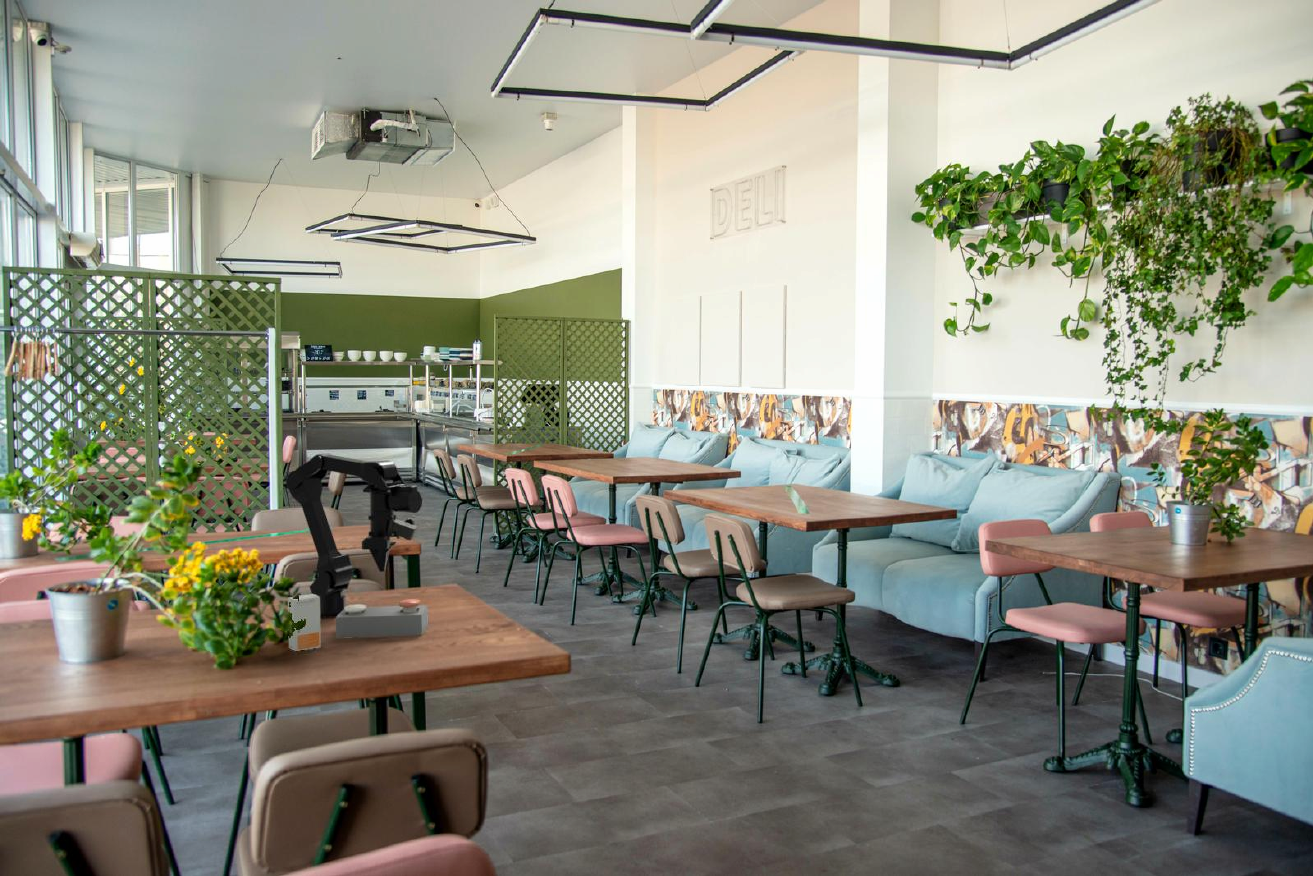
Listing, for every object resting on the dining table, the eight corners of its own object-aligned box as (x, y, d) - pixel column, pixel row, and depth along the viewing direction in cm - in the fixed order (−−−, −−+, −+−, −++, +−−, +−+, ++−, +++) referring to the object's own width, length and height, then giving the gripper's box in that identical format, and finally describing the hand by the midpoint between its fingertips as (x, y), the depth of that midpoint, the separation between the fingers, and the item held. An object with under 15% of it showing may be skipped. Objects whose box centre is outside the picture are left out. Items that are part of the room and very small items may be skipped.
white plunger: (342, 630, 229) (342, 609, 229) (347, 624, 234) (346, 604, 234) (364, 629, 229) (363, 608, 229) (368, 624, 234) (367, 604, 234)
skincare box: (295, 653, 214) (293, 600, 214) (288, 649, 218) (286, 597, 217) (322, 647, 218) (320, 596, 218) (314, 644, 222) (313, 593, 221)
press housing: (336, 638, 226) (335, 617, 226) (345, 627, 236) (345, 607, 236) (421, 635, 228) (421, 614, 228) (427, 624, 238) (427, 605, 238)
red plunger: (397, 624, 230) (397, 604, 230) (401, 619, 235) (400, 599, 235) (419, 624, 231) (418, 603, 230) (422, 619, 236) (421, 599, 235)
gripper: (407, 516, 233) (407, 579, 234) (420, 505, 251) (420, 564, 253) (361, 516, 232) (361, 579, 233) (377, 505, 251) (377, 564, 252)
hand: (382, 571), depth 243 cm, fingers closed
